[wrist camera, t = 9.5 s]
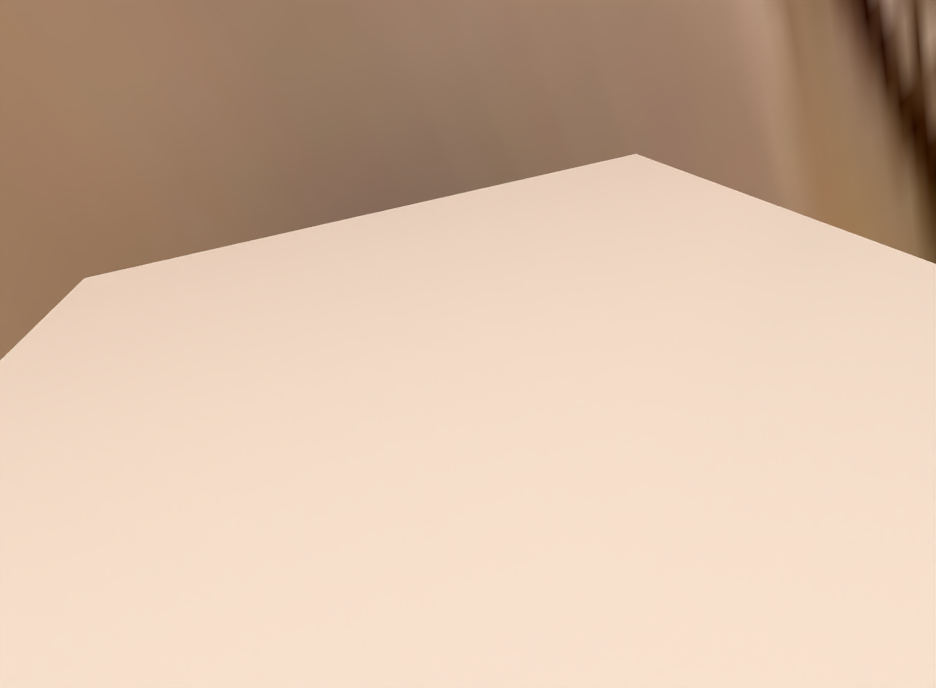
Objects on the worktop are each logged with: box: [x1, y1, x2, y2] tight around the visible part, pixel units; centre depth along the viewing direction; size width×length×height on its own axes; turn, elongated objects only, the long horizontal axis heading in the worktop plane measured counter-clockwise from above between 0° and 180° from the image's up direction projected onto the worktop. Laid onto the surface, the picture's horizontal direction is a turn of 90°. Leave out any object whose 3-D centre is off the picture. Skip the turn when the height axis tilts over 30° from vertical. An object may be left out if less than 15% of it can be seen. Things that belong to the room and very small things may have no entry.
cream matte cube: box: [0, 154, 936, 688], centre depth 7 cm, size 8×8×9 cm
